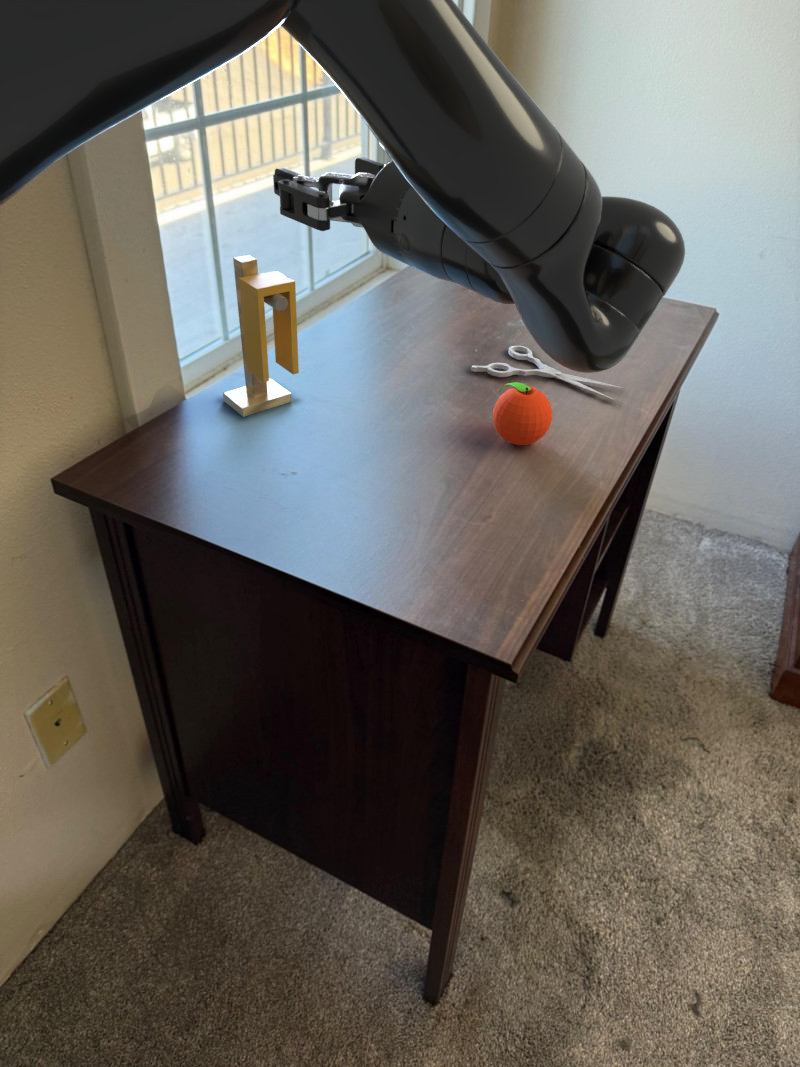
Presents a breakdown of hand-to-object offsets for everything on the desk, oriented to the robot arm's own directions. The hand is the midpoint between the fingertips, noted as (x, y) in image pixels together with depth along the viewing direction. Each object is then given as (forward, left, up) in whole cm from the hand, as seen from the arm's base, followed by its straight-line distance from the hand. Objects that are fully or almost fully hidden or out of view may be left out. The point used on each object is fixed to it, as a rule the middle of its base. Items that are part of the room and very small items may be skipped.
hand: (319, 175), depth 67 cm
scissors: (+33, +16, -30) cm, 47 cm away
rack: (-6, +12, -30) cm, 33 cm away
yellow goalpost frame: (-5, +10, -24) cm, 26 cm away
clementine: (+23, +1, -30) cm, 38 cm away
